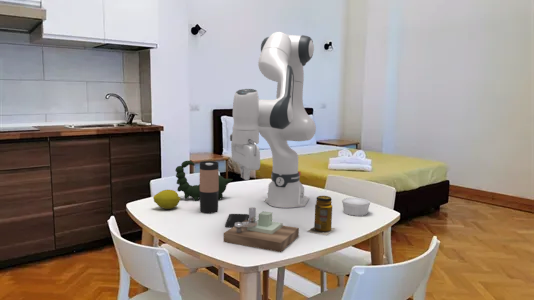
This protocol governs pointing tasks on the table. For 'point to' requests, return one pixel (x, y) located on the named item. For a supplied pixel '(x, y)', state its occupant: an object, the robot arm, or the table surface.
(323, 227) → the condiment
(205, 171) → the travel mug
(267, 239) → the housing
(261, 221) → the cover
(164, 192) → the lemon
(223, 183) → the toy figurine
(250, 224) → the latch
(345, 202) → the ramekin
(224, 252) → the table surface
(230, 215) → the phone
